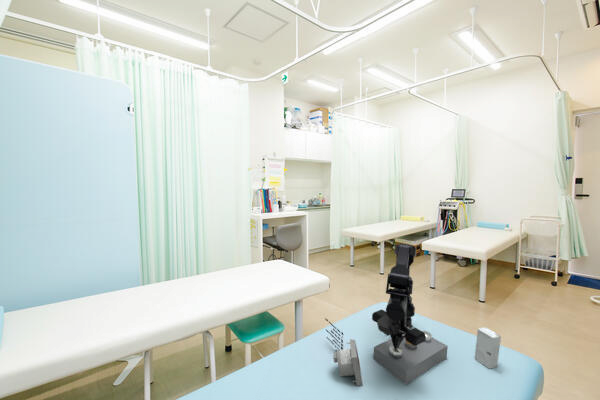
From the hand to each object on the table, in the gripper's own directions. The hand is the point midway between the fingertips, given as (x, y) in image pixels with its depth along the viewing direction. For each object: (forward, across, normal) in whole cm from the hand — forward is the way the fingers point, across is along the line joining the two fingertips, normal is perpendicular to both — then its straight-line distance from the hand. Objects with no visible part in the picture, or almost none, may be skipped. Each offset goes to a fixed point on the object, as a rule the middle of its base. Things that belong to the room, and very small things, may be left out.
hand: (395, 348), depth 93 cm
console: (+7, 0, +9) cm, 12 cm away
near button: (+5, 0, 0) cm, 5 cm away
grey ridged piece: (+8, -13, -14) cm, 21 cm away
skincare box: (+8, +16, +32) cm, 37 cm away
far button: (+5, 0, +18) cm, 19 cm away
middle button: (+3, 0, +9) cm, 10 cm away
